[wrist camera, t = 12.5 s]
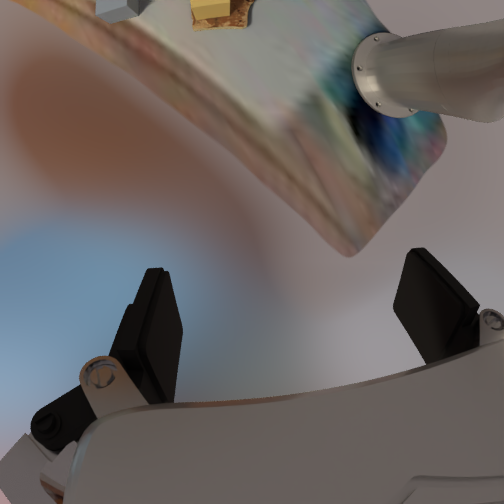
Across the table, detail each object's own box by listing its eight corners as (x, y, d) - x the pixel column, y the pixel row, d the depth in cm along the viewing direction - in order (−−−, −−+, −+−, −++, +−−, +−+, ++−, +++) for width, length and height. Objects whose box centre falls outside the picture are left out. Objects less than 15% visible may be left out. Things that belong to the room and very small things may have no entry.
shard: (194, -32, 22) (192, -37, 20) (253, -34, 22) (254, -39, 21) (191, 33, 27) (190, 29, 26) (253, 30, 28) (254, 27, 26)
